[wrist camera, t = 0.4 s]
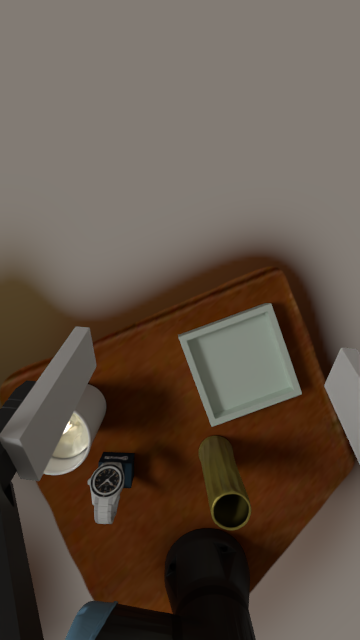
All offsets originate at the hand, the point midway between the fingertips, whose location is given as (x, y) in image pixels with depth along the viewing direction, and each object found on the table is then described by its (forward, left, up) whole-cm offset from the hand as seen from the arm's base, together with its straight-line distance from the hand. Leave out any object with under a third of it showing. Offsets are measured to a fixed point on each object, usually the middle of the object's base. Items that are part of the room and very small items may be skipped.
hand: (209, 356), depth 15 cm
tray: (-10, -6, -33) cm, 35 cm away
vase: (-24, +3, -33) cm, 41 cm away
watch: (-20, +20, -33) cm, 44 cm away
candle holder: (-8, +22, -33) cm, 41 cm away
